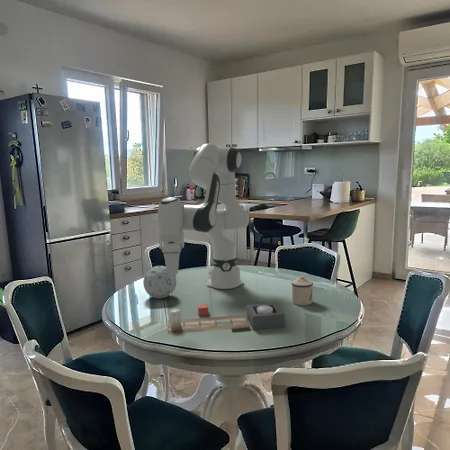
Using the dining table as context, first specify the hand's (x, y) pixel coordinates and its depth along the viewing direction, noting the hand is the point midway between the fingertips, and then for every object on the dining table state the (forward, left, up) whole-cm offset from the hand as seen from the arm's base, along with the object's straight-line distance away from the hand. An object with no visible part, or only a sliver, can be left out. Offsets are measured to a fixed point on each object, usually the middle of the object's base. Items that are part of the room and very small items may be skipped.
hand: (173, 279), depth 139 cm
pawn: (0, 0, -18) cm, 18 cm away
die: (-11, +11, -19) cm, 25 cm away
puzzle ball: (-37, -7, -19) cm, 42 cm away
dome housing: (0, +34, -19) cm, 39 cm away
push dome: (0, +34, -17) cm, 38 cm away
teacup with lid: (-19, +55, -19) cm, 61 cm away
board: (0, +12, -19) cm, 23 cm away
